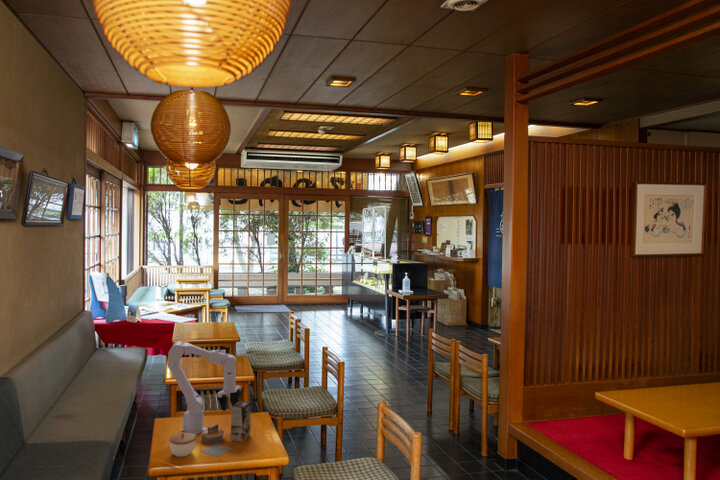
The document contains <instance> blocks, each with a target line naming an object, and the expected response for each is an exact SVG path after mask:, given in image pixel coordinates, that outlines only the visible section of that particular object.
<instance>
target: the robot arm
mask: <svg viewBox="0 0 720 480" xmlns="http://www.w3.org/2000/svg"><path fill="white" fill-rule="evenodd" d="M192 354H193V355H195V356H200V357H203V358H206V359H207V360H208V362H210V363H213V364H216V365H219V366H223V367H224V370H223V389H222V390H220V391H218V392H217V393H216V395H217V396H216V399H217V400H218V402H219V404H220V408H221V411H223V412H224V411H225V412H226V410H227V404H228V401H229V397H228V396H227V395H229V394H230V395H231V405H232V406H233V405H235V404H236V403H237V402H239V399H240V397H241V395H242V385H236V381H237V368H236V365H237V358H236V356H235V355H233V354H232V353H224V352H221V351H220V350H219V349H216V350H215V349H213V350H211V351H209V350H207V349H205V348H202V347H200V346H196V344H195V345H194V344H191V343H190V342H187V341H186V342H184V341H182V340H177V341H175V342H174V343H173V344H172V346H171V347H170V349H169V351H168V354H167V355H168V358H167V367H168V370H169V371H170V373H171V374H172V377H174V380H175V381H176V383H177V385H178V387H179V388H180V390H181V392H182V394H183V395H184V399H185V402H186V404H187V411H185V412H184V414H183V415H182V429H180V430H181V431H182V432H184V433H192V434H194V435H198V434H200V433H202V432H203V431H204V430H207V429H208V427H204V417H205V416H204V413H205V412H204V409H203V405H204V398H203V397H202V396H201V395H199V394H198V392H197V391H195V389H194V387H193V386H192V384H191V382H190V380H189V378H188V377H187V375H186V373H185V371H184V369H183V368H182V366H181V364H180V362H181V358H182V356H183V355H184V356H188V355H192Z"/></svg>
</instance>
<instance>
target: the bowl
mask: <svg viewBox="0 0 720 480" xmlns="http://www.w3.org/2000/svg"><path fill="white" fill-rule="evenodd" d="M223 439H224V434H223V435H222V436H220V437H216V438H206V437H203V436H202V435H201V442H203V443H205V444H219V443H220V442H222V441H223Z"/></svg>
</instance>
